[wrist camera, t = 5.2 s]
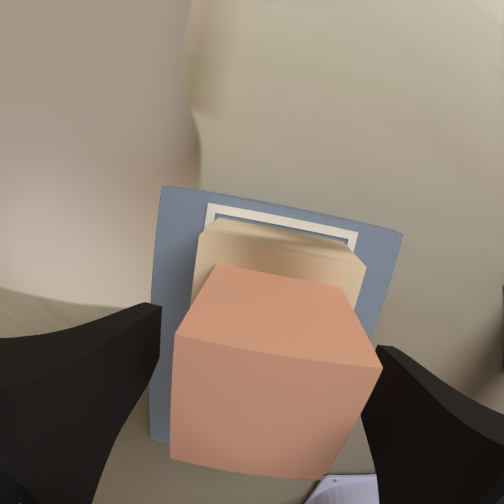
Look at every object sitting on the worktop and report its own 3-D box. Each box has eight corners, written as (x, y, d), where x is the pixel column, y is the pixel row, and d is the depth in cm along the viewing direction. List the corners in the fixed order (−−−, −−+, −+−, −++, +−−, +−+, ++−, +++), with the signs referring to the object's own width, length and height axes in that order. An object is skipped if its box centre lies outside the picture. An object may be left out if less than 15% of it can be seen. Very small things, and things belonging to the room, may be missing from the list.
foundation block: (343, 241, 14) (366, 267, 11) (312, 349, 16) (321, 396, 12) (218, 217, 15) (199, 234, 11) (202, 328, 16) (183, 372, 12)
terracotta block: (340, 286, 11) (382, 367, 6) (309, 384, 12) (321, 480, 7) (216, 263, 11) (174, 334, 6) (202, 366, 12) (169, 457, 7)
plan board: (395, 230, 15) (403, 235, 14) (308, 458, 20) (308, 468, 19) (168, 185, 15) (161, 186, 14) (154, 431, 20) (150, 440, 19)
